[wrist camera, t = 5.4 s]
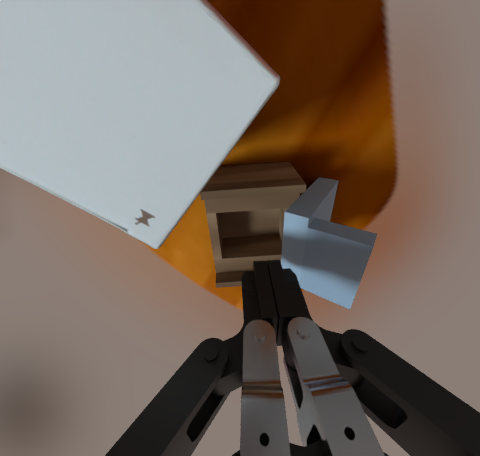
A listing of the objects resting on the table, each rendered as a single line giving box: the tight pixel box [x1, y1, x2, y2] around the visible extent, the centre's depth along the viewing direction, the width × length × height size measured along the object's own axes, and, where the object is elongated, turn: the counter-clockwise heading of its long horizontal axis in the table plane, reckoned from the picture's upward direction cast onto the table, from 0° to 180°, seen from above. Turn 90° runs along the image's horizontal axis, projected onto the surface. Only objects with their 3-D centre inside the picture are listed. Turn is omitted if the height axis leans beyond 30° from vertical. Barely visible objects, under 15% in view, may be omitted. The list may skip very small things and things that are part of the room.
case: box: [200, 162, 306, 288], centre depth 16 cm, size 8×6×4 cm
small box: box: [0, 0, 280, 249], centre depth 8 cm, size 8×6×10 cm
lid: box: [281, 177, 377, 309], centre depth 15 cm, size 6×6×5 cm
